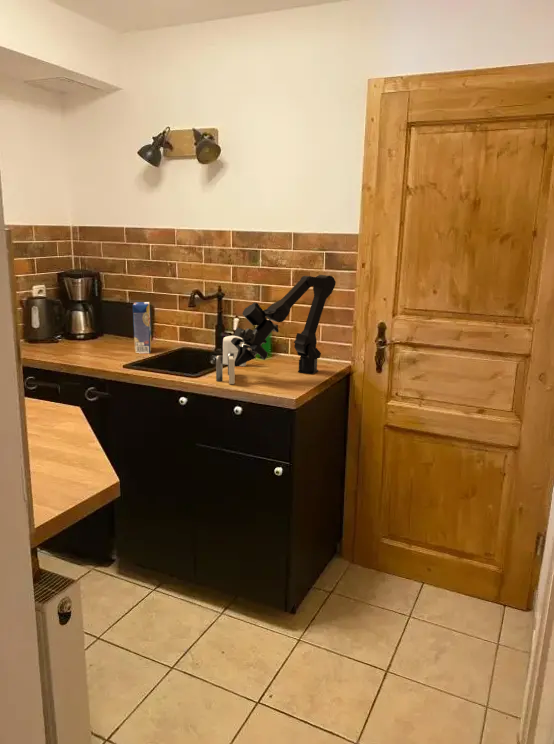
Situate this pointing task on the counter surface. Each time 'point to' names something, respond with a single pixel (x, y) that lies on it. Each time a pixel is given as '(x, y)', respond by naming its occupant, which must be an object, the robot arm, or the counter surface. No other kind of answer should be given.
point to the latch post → (219, 368)
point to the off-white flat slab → (231, 370)
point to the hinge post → (228, 359)
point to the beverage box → (142, 327)
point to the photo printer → (230, 349)
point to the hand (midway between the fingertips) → (234, 365)
